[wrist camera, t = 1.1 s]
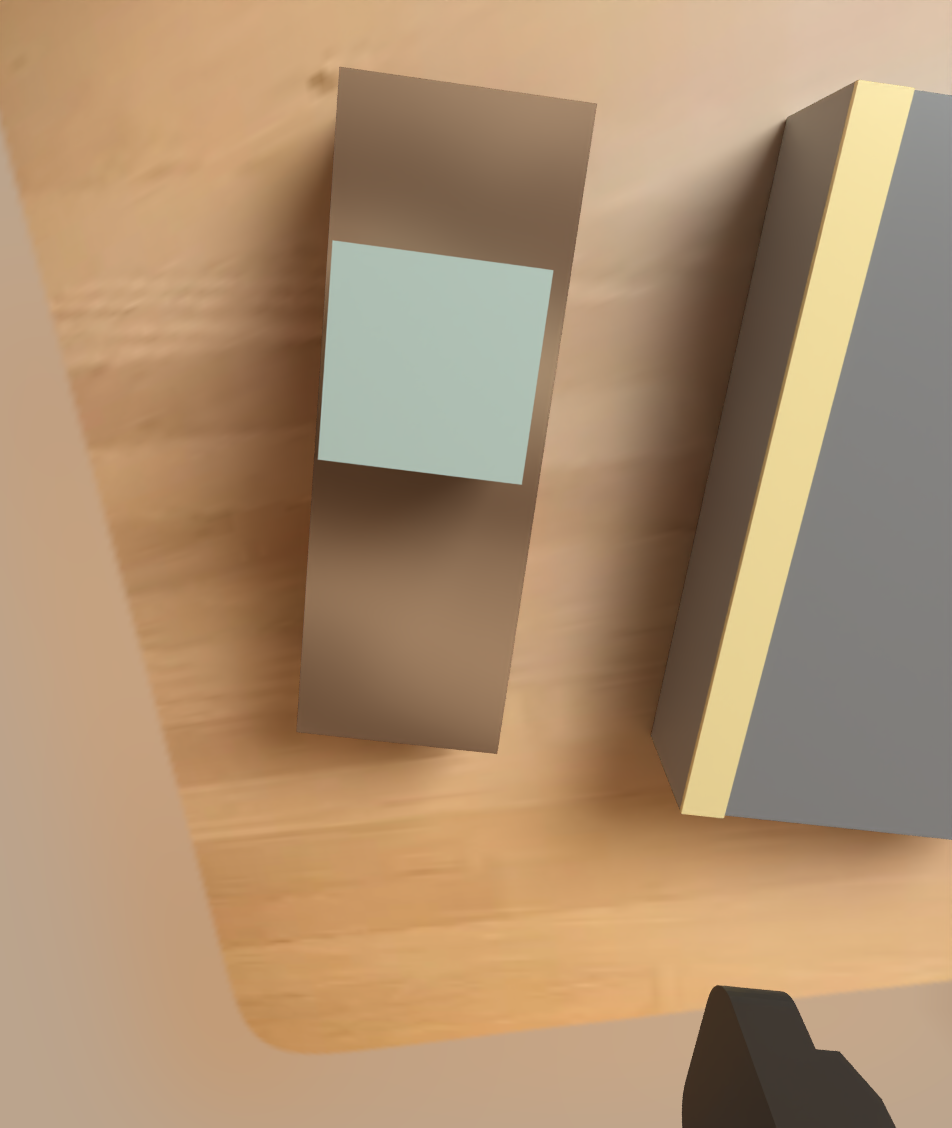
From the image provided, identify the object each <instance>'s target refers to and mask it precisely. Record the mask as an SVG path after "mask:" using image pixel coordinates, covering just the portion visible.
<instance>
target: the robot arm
mask: <svg viewBox="0 0 952 1128" xmlns="http://www.w3.org/2000/svg"><path fill="white" fill-rule="evenodd" d="M682 1128H896V1127H895V1125H894V1123H893V1121H892V1119H891V1117H890V1115H889V1113H888V1111H887V1109H886V1107H885V1105H884V1103H883V1101H882V1099H881V1098H880V1097H879V1096H878V1095H877V1093H876V1092H875V1091H874V1090H873V1089H872V1088H871V1087H870V1086H869V1084H868V1083H867V1082H866V1081H865V1080H864V1079H863V1078H862V1076H861V1075H860V1074H859V1073H858V1072H857V1071H856V1070H855V1069H854V1067H853V1066H852V1065H851V1064H850V1063H849V1062H848V1061H847V1060H846V1058H845V1057H844V1056H843V1055H842V1054H841V1053H840V1052H838V1051H827V1050H817V1049H815V1047H814V1044H813V1042H812V1040H811V1038H810V1035H809V1033H808V1031H807V1029H806V1026H805V1024H804V1022H803V1020H802V1018H801V1016H800V1013H799V1011H798V1009H797V1007H796V1005H795V1003H794V1001H793V1000H792V998H791V997H790V996H789V995H788V994H787V993H785V992H781V991H771V990H761V989H750V988H740V987H730V986H719V985H717V986H715V987H714V988H713V989H712V990H711V992H710V994H709V997H708V1001H707V1004H706V1008H705V1012H704V1015H703V1019H702V1023H701V1026H700V1030H699V1034H698V1038H697V1041H696V1045H695V1048H694V1052H693V1056H692V1060H691V1063H690V1067H689V1071H688V1075H687V1078H686V1082H685V1086H684V1092H683V1100H682Z"/></svg>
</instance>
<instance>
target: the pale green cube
mask: <svg viewBox="0 0 952 1128" xmlns="http://www.w3.org/2000/svg"><path fill="white" fill-rule="evenodd" d="M552 277H553V270H548V269H541V268H533V267H526V266H518V265H511V264H504V263H496V262H489V261H481V260H474V259H467V258H459V257H452V256H444V255H437V254H430V253H422V252H415V251H407V250H400V249H393V248H385V247H378V246H370V245H363V244H356V243H348V242H341V241H334V240H333V242H332V257H331V272H330V287H329V301H328V316H327V331H326V346H325V361H324V376H323V391H322V406H321V421H320V436H319V451H318V460H326V461H334V462H342V463H350V464H358V465H366V466H375V467H383V468H391V469H399V470H407V471H415V472H423V473H431V474H439V475H447V476H455V477H463V478H472V479H480V480H488V481H496V482H504V483H512V484H520V485H522V480H523V473H524V466H525V460H526V453H527V446H528V439H529V433H530V426H531V419H532V412H533V405H534V399H535V392H536V385H537V378H538V372H539V365H540V358H541V351H542V344H543V338H544V331H545V324H546V317H547V311H548V304H549V297H550V290H551V284H552Z"/></svg>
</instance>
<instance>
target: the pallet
mask: <svg viewBox="0 0 952 1128" xmlns="http://www.w3.org/2000/svg"><path fill="white" fill-rule="evenodd" d="M596 107H597V104H595V103H588V102H581V101H574V100H567V99H560V98H554V97H547V96H540V95H533V94H526V93H519V92H512V91H505V90H498V89H491V88H484V87H477V86H470V85H463V84H456V83H449V82H442V81H435V80H428V79H421V78H414V77H407V76H400V75H393V74H386V73H379V72H372V71H365V70H358V69H351V68H344V67H339V82H338V97H337V113H336V128H335V144H334V159H333V175H332V190H331V206H330V221H329V237H328V252H327V268H326V284H325V299H324V315H323V330H322V346H321V361H320V377H319V392H318V408H317V423H316V439H315V454H314V470H313V485H312V501H311V516H310V532H309V547H308V563H307V578H306V594H305V609H304V625H303V640H302V656H301V671H300V687H299V702H298V718H297V732H301V733H310V734H319V735H328V736H337V737H347V738H356V739H365V740H374V741H383V742H393V743H402V744H411V745H420V746H429V747H438V748H448V749H457V750H466V751H475V752H484V753H494V754H497V751H498V745H499V738H500V732H501V725H502V719H503V712H504V706H505V699H506V693H507V686H508V680H509V673H510V667H511V660H512V654H513V647H514V641H515V634H516V627H517V621H518V614H519V608H520V601H521V595H522V588H523V582H524V575H525V569H526V562H527V556H528V549H529V543H530V536H531V530H532V523H533V517H534V510H535V504H536V497H537V491H538V484H539V478H540V471H541V465H542V458H543V452H544V445H545V439H546V432H547V426H548V419H549V413H550V406H551V400H552V393H553V387H554V380H555V374H556V367H557V361H558V354H559V348H560V341H561V335H562V328H563V322H564V315H565V309H566V302H567V296H568V289H569V283H570V276H571V270H572V263H573V257H574V250H575V244H576V237H577V231H578V224H579V218H580V211H581V205H582V198H583V191H584V185H585V178H586V172H587V165H588V159H589V152H590V146H591V139H592V133H593V126H594V120H595V113H596ZM333 240H334V241H341V242H348V243H356V244H363V245H370V246H378V247H385V248H393V249H400V250H407V251H415V252H422V253H430V254H437V255H444V256H452V257H459V258H467V259H474V260H481V261H489V262H496V263H504V264H511V265H518V266H526V267H533V268H541V269H548V270H553V277H552V284H551V290H550V297H549V304H548V311H547V317H546V324H545V331H544V338H543V344H542V351H541V358H540V365H539V372H538V378H537V385H536V392H535V399H534V405H533V412H532V419H531V426H530V433H529V439H528V446H527V453H526V460H525V466H524V473H523V480H522V485H520V484H512V483H504V482H496V481H488V480H480V479H472V478H463V477H455V476H447V475H439V474H431V473H423V472H415V471H407V470H399V469H391V468H383V467H375V466H366V465H358V464H350V463H342V462H334V461H326V460H318V451H319V436H320V421H321V406H322V391H323V376H324V361H325V346H326V331H327V316H328V301H329V287H330V272H331V257H332V242H333Z"/></svg>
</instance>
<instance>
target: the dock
mask: <svg viewBox="0 0 952 1128" xmlns="http://www.w3.org/2000/svg"><path fill="white" fill-rule="evenodd" d="M651 737H652V740H653V743H654V745H655V748H656V750H657V753H658V755H659V758H660V761H661V763H662V766H663V768H664V771H665V773H666V776H667V778H668V781H669V784H670V786H671V789H672V791H673V794H674V796H675V799H676V802H677V804H678V807H679V809H680V812H681V814H687V815H697V816H706V817H715V818H724V816H725V815H726V816H735V817H745V818H754V819H763V820H773V821H782V822H791V823H801V824H810V825H819V826H829V827H838V828H847V829H857V830H866V831H876V832H885V833H894V834H904V835H913V836H922V837H932V838H941V839H950V840H952V95H945V94H938V93H931V92H924V91H918V90H915V88H912V87H905V86H898V85H891V84H884V83H878V82H871V81H864V80H857V81H856V82H854V83H852V84H850V85H848V86H846V87H844V88H842V89H840V90H838V91H837V92H835V93H833V94H831V95H829V96H827V97H825V98H823V99H821V100H819V101H818V102H816V103H814V104H812V105H810V106H808V107H806V108H804V109H802V110H800V111H798V112H797V113H795V114H793V115H791V116H789V117H787V120H786V125H785V129H784V134H783V138H782V143H781V148H780V152H779V157H778V161H777V166H776V170H775V175H774V179H773V184H772V188H771V193H770V197H769V202H768V207H767V211H766V216H765V220H764V225H763V229H762V234H761V238H760V243H759V247H758V252H757V257H756V261H755V266H754V270H753V275H752V279H751V284H750V288H749V293H748V297H747V302H746V306H745V311H744V316H743V320H742V325H741V329H740V334H739V338H738V343H737V347H736V352H735V356H734V361H733V365H732V370H731V375H730V379H729V384H728V388H727V393H726V397H725V402H724V406H723V411H722V415H721V420H720V425H719V429H718V434H717V438H716V443H715V447H714V452H713V456H712V461H711V465H710V470H709V474H708V479H707V484H706V488H705V493H704V497H703V502H702V506H701V511H700V515H699V520H698V524H697V529H696V534H695V538H694V543H693V547H692V552H691V556H690V561H689V565H688V570H687V574H686V579H685V583H684V588H683V593H682V597H681V602H680V606H679V611H678V615H677V620H676V624H675V629H674V633H673V638H672V642H671V647H670V652H669V656H668V661H667V665H666V670H665V674H664V679H663V683H662V688H661V692H660V697H659V702H658V706H657V711H656V715H655V720H654V724H653V729H652V733H651Z"/></svg>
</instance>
